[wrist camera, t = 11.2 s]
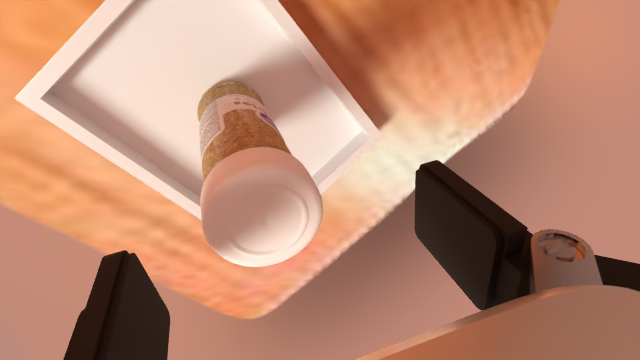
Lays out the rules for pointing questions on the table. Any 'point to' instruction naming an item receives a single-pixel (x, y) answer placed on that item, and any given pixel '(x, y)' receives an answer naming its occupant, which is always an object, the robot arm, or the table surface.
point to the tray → (195, 88)
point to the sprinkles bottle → (251, 181)
